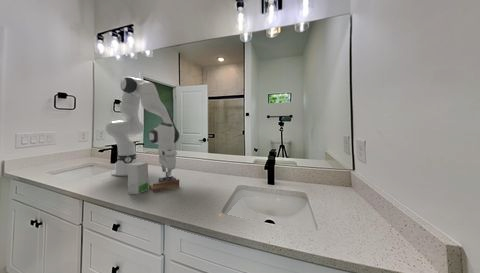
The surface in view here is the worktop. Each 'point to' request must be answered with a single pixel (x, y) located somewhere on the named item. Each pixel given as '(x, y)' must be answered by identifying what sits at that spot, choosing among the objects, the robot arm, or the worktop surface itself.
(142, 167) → the skincare box
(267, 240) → the worktop surface
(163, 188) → the hook shelf
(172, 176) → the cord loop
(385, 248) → the worktop surface
